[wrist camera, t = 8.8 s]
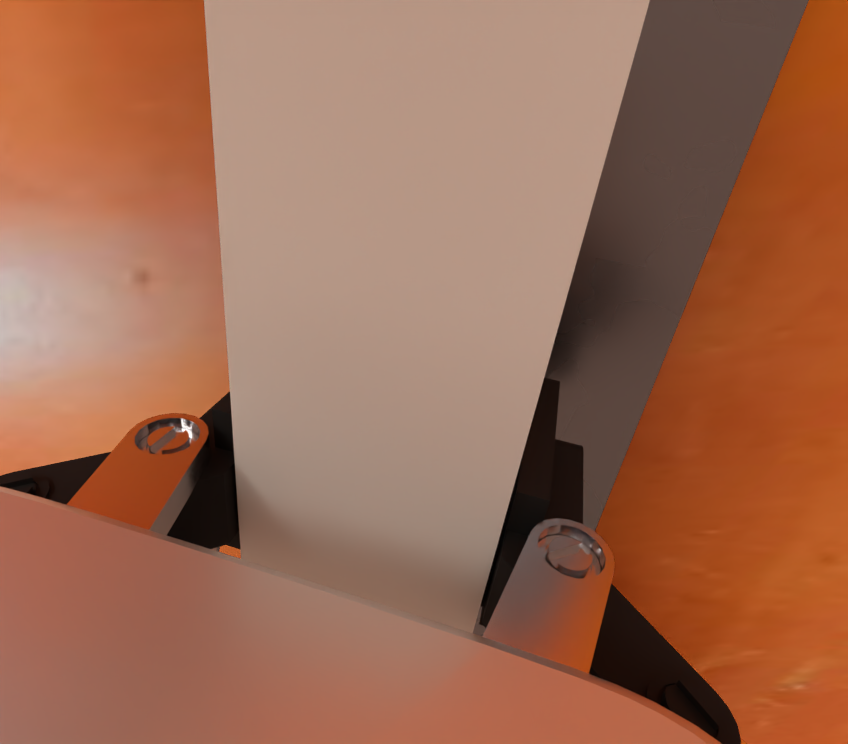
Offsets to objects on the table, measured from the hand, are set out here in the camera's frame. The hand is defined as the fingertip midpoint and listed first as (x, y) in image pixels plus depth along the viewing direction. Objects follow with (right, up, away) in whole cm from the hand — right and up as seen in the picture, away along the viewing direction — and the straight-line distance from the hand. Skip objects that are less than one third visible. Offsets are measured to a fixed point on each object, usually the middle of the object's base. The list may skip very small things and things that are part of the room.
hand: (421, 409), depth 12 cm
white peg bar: (+1, +1, +3) cm, 3 cm away
